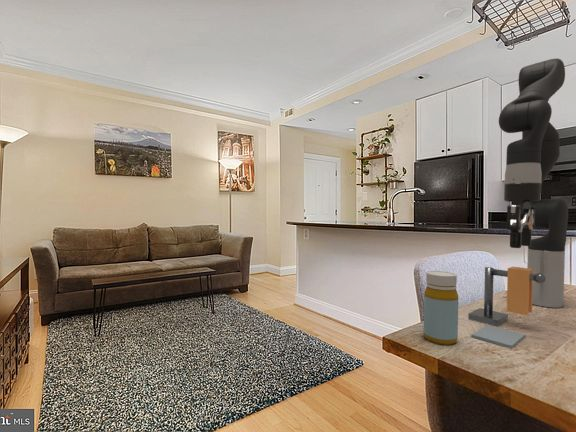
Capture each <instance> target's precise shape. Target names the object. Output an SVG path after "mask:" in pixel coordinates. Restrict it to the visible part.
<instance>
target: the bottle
mask: <svg viewBox="0 0 576 432" xmlns="http://www.w3.org/2000/svg"><path fill="white" fill-rule="evenodd" d="M457 278H458V276H457V274H456V273H454V272H449V271H445V270H444V271H442V270H428V271H427V272H426V279H425V280H426V284H425V285H426V286H425V289H424V292H423V326H422V327H423V328H422V329H423V336H424V337H425V339H426V340H427V341H428V342H430V343H434V344H438V345H444V346H446V345H447V346H449V345H453V344H455V343H456V342H457V341H458V336H459V335H458V334H459V333H458V331H459V330H458V329H459V327H458V326H459V294H458V291H457V284H458V283H457Z"/></svg>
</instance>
